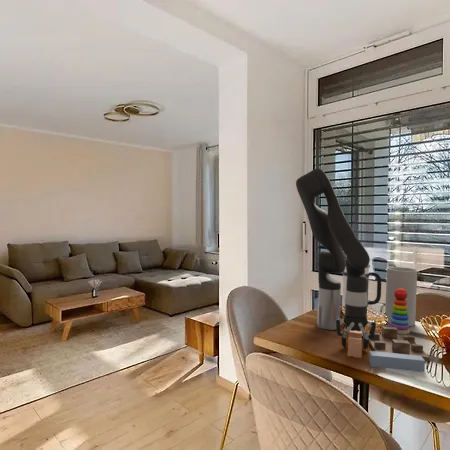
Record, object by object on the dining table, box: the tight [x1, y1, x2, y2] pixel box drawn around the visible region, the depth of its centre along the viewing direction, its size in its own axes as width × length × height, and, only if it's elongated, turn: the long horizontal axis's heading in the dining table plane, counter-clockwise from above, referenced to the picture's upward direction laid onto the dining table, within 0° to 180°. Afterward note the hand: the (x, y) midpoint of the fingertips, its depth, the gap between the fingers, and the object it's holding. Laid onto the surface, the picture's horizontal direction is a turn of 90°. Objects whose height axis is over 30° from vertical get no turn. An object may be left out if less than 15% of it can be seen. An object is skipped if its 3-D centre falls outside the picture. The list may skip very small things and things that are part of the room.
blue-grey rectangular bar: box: [368, 350, 426, 373], centre depth 117 cm, size 16×4×4 cm, turn 77°
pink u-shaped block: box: [347, 330, 363, 359], centre depth 131 cm, size 14×4×6 cm, turn 159°
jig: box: [368, 325, 430, 362], centre depth 133 cm, size 17×20×5 cm
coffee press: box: [340, 259, 382, 311], centre depth 178 cm, size 17×16×30 cm
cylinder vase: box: [384, 266, 418, 327], centre depth 164 cm, size 12×12×25 cm
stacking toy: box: [389, 288, 411, 336], centre depth 151 cm, size 8×8×19 cm
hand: (354, 347), depth 131 cm, fingers open, 6 cm apart
